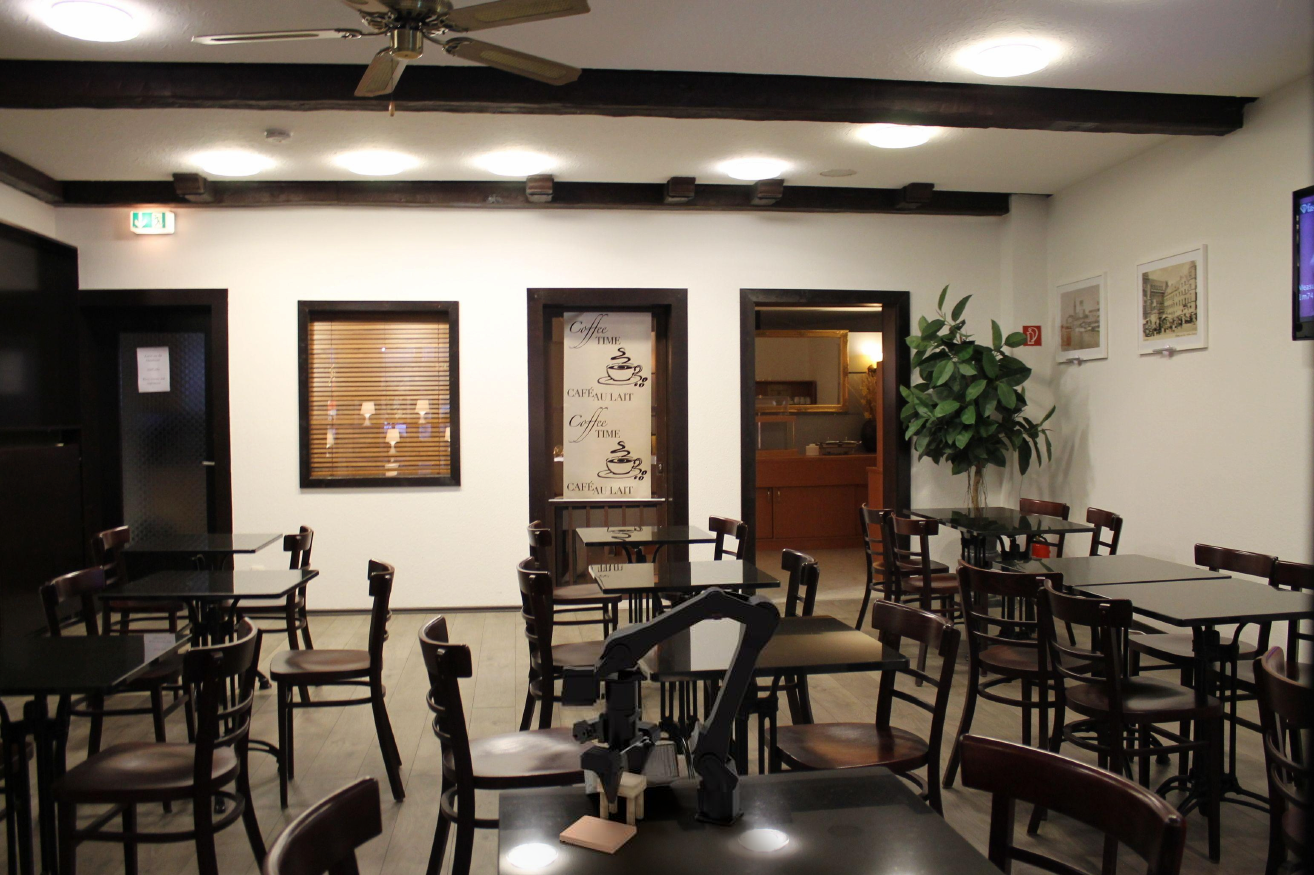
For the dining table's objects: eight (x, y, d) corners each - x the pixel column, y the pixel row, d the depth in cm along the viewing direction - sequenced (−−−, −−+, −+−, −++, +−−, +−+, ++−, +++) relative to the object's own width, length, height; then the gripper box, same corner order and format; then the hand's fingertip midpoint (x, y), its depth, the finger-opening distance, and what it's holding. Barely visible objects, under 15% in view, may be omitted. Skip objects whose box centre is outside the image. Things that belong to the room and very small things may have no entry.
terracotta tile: (636, 832, 149) (636, 826, 149) (612, 853, 142) (612, 847, 142) (585, 821, 153) (585, 815, 153) (559, 840, 146) (559, 834, 146)
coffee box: (582, 758, 168) (664, 750, 172) (585, 794, 165) (669, 785, 169) (590, 750, 160) (676, 741, 164) (593, 788, 157) (681, 778, 161)
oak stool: (646, 815, 155) (646, 776, 155) (633, 827, 151) (632, 786, 151) (611, 808, 158) (611, 769, 158) (597, 819, 154) (596, 779, 154)
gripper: (608, 685, 166) (609, 768, 167) (552, 714, 150) (553, 807, 150) (661, 692, 161) (662, 778, 162) (609, 724, 145) (611, 819, 145)
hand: (622, 794), depth 155 cm, fingers open, 8 cm apart
